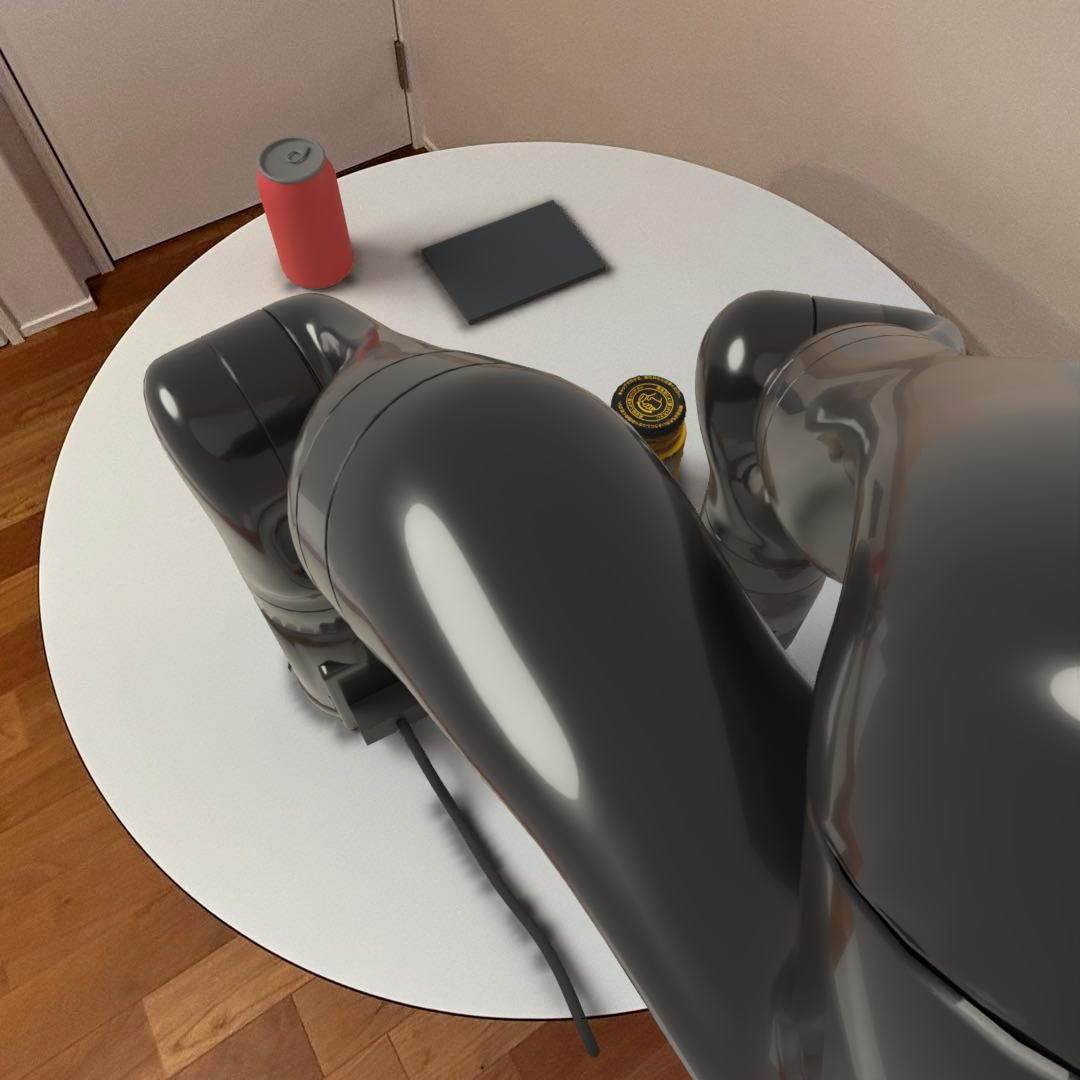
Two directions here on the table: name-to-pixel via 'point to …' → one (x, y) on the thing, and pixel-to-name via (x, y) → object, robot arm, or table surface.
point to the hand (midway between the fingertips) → (703, 686)
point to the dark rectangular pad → (512, 261)
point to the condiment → (655, 415)
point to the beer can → (304, 212)
